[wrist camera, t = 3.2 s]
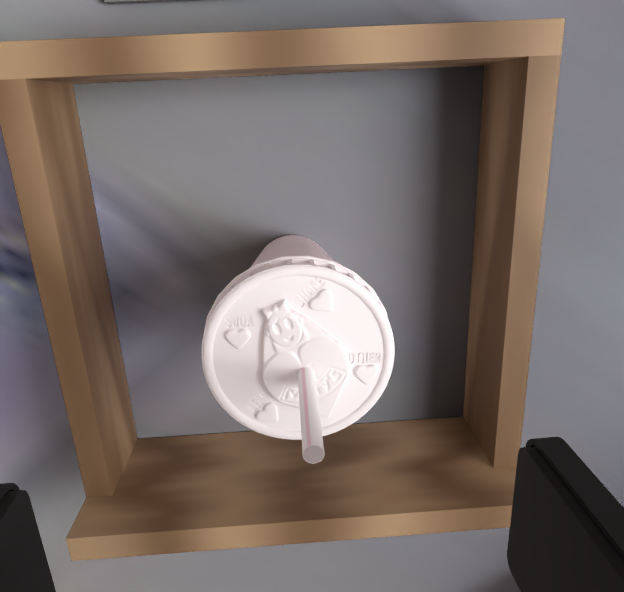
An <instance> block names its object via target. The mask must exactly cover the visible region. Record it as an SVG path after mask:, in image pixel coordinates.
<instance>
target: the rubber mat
mask: <svg viewBox="0 0 624 592" xmlns="http://www.w3.org/2000/svg"><path fill="white" fill-rule="evenodd" d="M165 1H190V0H104V2H105V3H107V4H114V3H140V2H165Z"/></svg>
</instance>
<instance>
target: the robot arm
mask: <svg viewBox="0 0 624 592" xmlns="http://www.w3.org/2000/svg"><path fill="white" fill-rule="evenodd" d="M507 558H508V564H509V567H510V571H511V573H512V575H513V577H514V579H515V581H516V583H517V585H518V587H519V589H520V591H521V592H624V507H623V506H621V505H620V504H619V502H618V501H617V500H616V499H615V498H614V497H613V496H612V494H611V493H610V492H609V491H608V490H607V489H606V488H605V486H604V485H603V484H602V483H601V482H600V481H599V480H598V478H597V477H596V476H595V475H594V474H593V473H592V472H591V470H590V469H589V468H588V467H587V466H586V465H585V464H584V462H583V461H582V460H581V459H580V458H579V457H578V456H577V454H576V453H575V452H574V451H573V450H572V449H571V448H570V446H569V445H568V444H567V443H566V442H565V441H564V440H563V439H562V438H560V437H549V438H538V439H530V440H528V442H527V443H526V447H523V448H520V449H519V451H518V458H517V467H516V476H515V486H514V495H513V504H512V513H511V523H510V532H509V541H508V550H507ZM0 592H56V591H55V587H54V583H53V580H52V576H51V573H50V569H49V566H48V562H47V559H46V555H45V551H44V548H43V544H42V541H41V537H40V534H39V530H38V527H37V523H36V520H35V516H34V512H33V509H32V505H31V502H30V498H29V495H28V493H27V492H26V491H24V490H19V488H18V486H17V485H16V484H14V483H6V484H0Z"/></svg>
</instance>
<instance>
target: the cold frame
mask: <svg viewBox="0 0 624 592" xmlns="http://www.w3.org/2000/svg"><path fill="white" fill-rule="evenodd" d="M564 24H565V18H555V19H531V20H507V21H483V22H459V23H435V24H411V25H387V26H363V27H339V28H315V29H291V30H267V31H243V32H219V33H195V34H171V35H147V36H123V37H99V38H75V39H51V40H28V41H4V42H0V125H1V130H2V134H3V138H4V143H5V147H6V151H7V156H8V160H9V164H10V169H11V173H12V177H13V182H14V186H15V190H16V195H17V199H18V203H19V208H20V212H21V216H22V221H23V225H24V229H25V234H26V238H27V242H28V246H29V251H30V255H31V259H32V264H33V268H34V272H35V277H36V281H37V285H38V290H39V294H40V298H41V303H42V307H43V311H44V316H45V320H46V324H47V329H48V333H49V337H50V342H51V346H52V350H53V355H54V359H55V363H56V368H57V372H58V376H59V381H60V385H61V389H62V394H63V398H64V402H65V407H66V411H67V415H68V420H69V424H70V428H71V433H72V437H73V441H74V446H75V450H76V454H77V459H78V463H79V467H80V472H81V476H82V480H83V485H84V489H85V493H86V500H85V502H84V504H83V506H82V508H81V510H80V512H79V514H78V516H77V518H76V520H75V522H74V524H73V526H72V528H71V530H70V532H69V534H68V536H67V538H66V541H67V545H68V549H69V553H70V557H71V561H77V560H90V559H103V558H116V557H129V556H142V555H155V554H168V553H181V552H194V551H207V550H220V549H233V548H246V547H259V546H272V545H285V544H298V543H311V542H324V541H337V540H350V539H363V538H376V537H389V536H402V535H415V534H428V533H441V532H454V531H467V530H480V529H493V528H507V527H510V523H511V513H512V504H513V495H514V486H515V476H516V467H517V458H518V451H519V449H520V445H521V435H522V426H523V416H524V407H525V397H526V388H527V378H528V368H529V359H530V349H531V340H532V330H533V321H534V311H535V301H536V292H537V282H538V273H539V263H540V254H541V244H542V234H543V225H544V215H545V206H546V196H547V187H548V177H549V167H550V158H551V148H552V139H553V129H554V120H555V110H556V100H557V91H558V81H559V72H560V62H561V53H562V43H563V33H564ZM464 66H484V78H483V95H482V112H481V128H480V145H479V162H478V178H477V195H476V212H475V228H474V245H473V261H472V278H471V295H470V311H469V328H468V345H467V361H466V378H465V395H464V411H463V416H462V417H448V418H433V419H419V420H404V421H390V422H375V423H361V424H351V425H349V426H348V427H346V428H344V429H342V430H340V431H337V432H335V433H332V434H329V435H326V436H322V437H323V445H324V453H325V455H324V458H323V459H322V461H320V462H318V463H314V464H312V463H308V462H306V461H305V460H304V458H303V455H302V440H290V439H281V438H275V437H271V436H267V435H264V434H261V433H258V432H256V431H245V432H230V433H216V434H201V435H187V436H172V437H158V438H143V439H137V434H136V429H135V423H134V418H133V412H132V407H131V401H130V396H129V390H128V385H127V379H126V374H125V368H124V363H123V357H122V352H121V347H120V341H119V336H118V330H117V325H116V319H115V314H114V308H113V303H112V297H111V292H110V286H109V281H108V275H107V270H106V264H105V259H104V253H103V248H102V243H101V237H100V232H99V226H98V221H97V215H96V210H95V204H94V199H93V193H92V188H91V182H90V177H89V171H88V166H87V160H86V155H85V150H84V144H83V139H82V133H81V128H80V122H79V117H78V111H77V106H76V100H75V95H74V89H73V84H84V83H107V82H129V81H151V80H174V79H196V78H218V77H241V76H263V75H285V74H308V73H330V72H352V71H375V70H397V69H419V68H442V67H464Z"/></svg>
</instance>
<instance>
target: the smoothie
mask: <svg viewBox="0 0 624 592" xmlns="http://www.w3.org/2000/svg"><path fill="white" fill-rule="evenodd" d="M201 356H202V366H203V372H204V375H205V379H206V382H207V384H208V387H209V389H210V391H211V392H212V394H213V396H214V397H215V399H216V400H217V402H218V403H219V404H220V406H221V407H222V408H223V409H224V410H225V411H226V412H227V413H228V414H229V415H230V416H231V417H233V418H234V419H235V420H236V421H238V422H239V423H241V424H242V425H244V426H246V427H247V428H249V429H251V430H253V431H256V432H258V433H261V434H264V435H267V436H271V437H275V438H281V439H290V440H302V455H303V458H304V460H305V461H306V462H308V463H312V464H314V463H318V462H320V461H322V459H323V458H324V455H325V453H324V445H323V437H322V436H326V435H329V434H332V433H335V432H337V431H340V430H342V429H344V428H346V427H348V426H349V425H351V424H353V423H354V422H356V421H357V420H359V419H360V418H361V417H362V416H363V415H365V414H366V413H367V412H368V411H369V410H370V409H371V408H372V407H373V406H374V404H375V403H376V402H377V401H378V399H379V398H380V396H381V395H382V393H383V392H384V390H385V388H386V386H387V384H388V381H389V379H390V376H391V373H392V369H393V364H394V356H395V345H394V337H393V332H392V328H391V325H390V323H389V320H388V316H387V312H386V309H385V307H384V306H383V304H382V302H381V301H380V299H379V297H378V296H377V294H376V292H375V291H374V289H373V288H372V287H371V286H370V285H368V284H367V283H366V282H365V281H364V280H363V279H362V278H361V277H360V276H359V275H358V274H357V273H355V272H353V271H352V270H350V269H348V268H346V267H344V266H342V265H340V264H338V263H336V262H334V261H333V259H332V258H331V257H330V256H329V255H328V254H327V253H326V252H325V251H324V250H323V249H322V248H321V247H320V246H319V245H318V244H317V243H316V242H314V241H313V240H311V239H309V238H306V237H303V236H298V235H288V236H283V237H280V238H277V239H275V240H273V241H272V242H270V243H269V244H268V245H267V246H266V247H265V248H264V249H263V250H262V252H261V253H260V254H259V256H258V257H257V259H256V260H255V261H254V263H253V264H252V266H251V267H250V268H249V269H248V270H246V271H244V272H243V273H241V274H239V275H238V276H236V277H235V278H234V279H233V280H232V281H231V282H230V283H229V284H228V285H227V286H226V287H225V288H224V289H223V290H222V292H221V293H220V294H219V295H218V296H217V298H216V300H215V302H214V304H213V306H212V308H211V310H210V312H209V314H208V315H207V319H206V324H205V329H204V334H203V341H202V351H201Z"/></svg>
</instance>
